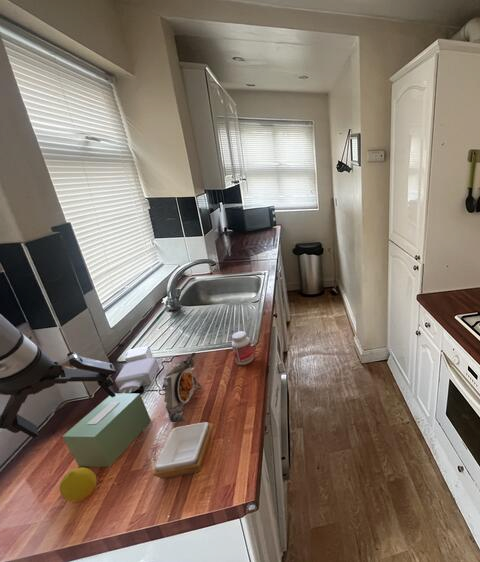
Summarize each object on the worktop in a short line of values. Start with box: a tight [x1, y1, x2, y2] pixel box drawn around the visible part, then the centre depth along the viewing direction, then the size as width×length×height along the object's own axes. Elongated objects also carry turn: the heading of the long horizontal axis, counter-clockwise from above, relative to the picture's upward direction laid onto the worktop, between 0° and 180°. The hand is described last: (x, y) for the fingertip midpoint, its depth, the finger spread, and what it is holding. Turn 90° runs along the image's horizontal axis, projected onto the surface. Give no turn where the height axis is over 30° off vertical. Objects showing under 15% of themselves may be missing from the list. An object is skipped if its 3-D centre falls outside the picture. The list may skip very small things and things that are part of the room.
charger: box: [114, 357, 160, 394], centre depth 101 cm, size 5×9×15 cm
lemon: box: [59, 466, 98, 503], centre depth 66 cm, size 6×6×8 cm
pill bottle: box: [231, 330, 254, 366], centre depth 110 cm, size 6×6×11 cm
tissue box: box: [61, 392, 152, 468], centre depth 79 cm, size 8×14×10 cm, turn 178°
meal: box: [161, 352, 202, 424], centre depth 91 cm, size 15×4×13 cm, turn 9°
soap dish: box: [151, 421, 214, 480], centre depth 75 cm, size 12×10×5 cm
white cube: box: [124, 345, 154, 364], centre depth 110 cm, size 6×6×6 cm
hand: (76, 411), depth 69 cm, fingers open, 13 cm apart
